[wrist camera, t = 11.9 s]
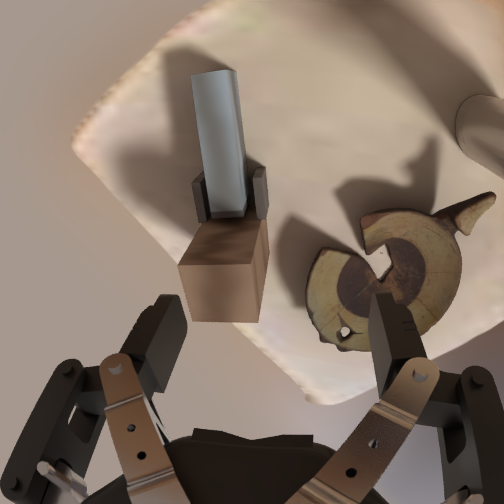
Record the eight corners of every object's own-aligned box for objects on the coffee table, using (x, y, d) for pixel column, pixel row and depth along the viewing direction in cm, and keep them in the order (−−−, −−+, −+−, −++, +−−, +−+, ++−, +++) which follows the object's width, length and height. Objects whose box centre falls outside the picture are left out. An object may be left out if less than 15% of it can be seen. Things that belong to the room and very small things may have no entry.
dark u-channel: (265, 167, 38) (250, 211, 26) (273, 252, 44) (263, 322, 32) (202, 172, 40) (160, 217, 28) (216, 254, 45) (188, 321, 33)
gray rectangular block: (236, 71, 33) (225, 69, 28) (250, 197, 41) (243, 217, 35) (206, 75, 33) (190, 75, 28) (222, 199, 41) (211, 218, 36)
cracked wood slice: (269, 257, 45) (264, 291, 38) (456, 145, 33) (486, 161, 26) (344, 350, 52) (347, 385, 46) (497, 268, 40) (518, 296, 34)
